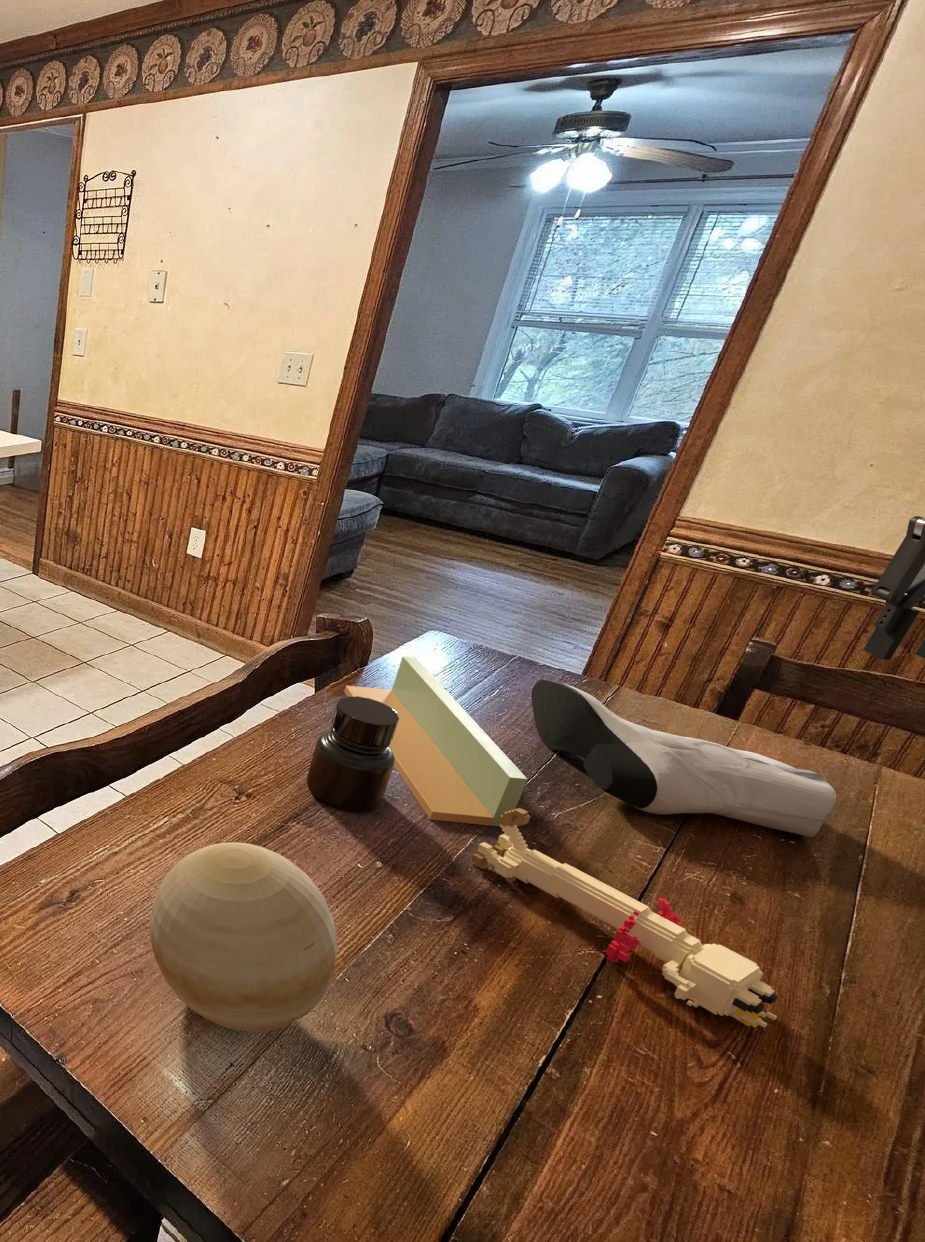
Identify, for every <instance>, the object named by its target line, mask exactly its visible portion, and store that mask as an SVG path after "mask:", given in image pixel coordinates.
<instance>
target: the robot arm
mask: <svg viewBox="0 0 925 1242" xmlns="http://www.w3.org/2000/svg"><path fill="white" fill-rule="evenodd" d="M871 594H872V595H874V596H876V597H878V598H879V599H881V600H883V601H885V604H884V606H883V608H882V609H881V611H880V613H879V615H878V616H877V618H876V620H875V621H874V625H873V626H874V628H875V629H874V631H873V632H872V634H871V636H870V637H869V639H868V641H867V642H866V644H865V646H864V647H863V649H862V650H863V651H864V652H867V653H869V654H871V655H873V656H874V657H877V658H879V659H882V660H886V661H890V660H892V657H893V655H894V654H895V653H896V651H897V649H898V648H899V646H900V644H901V643H902V641H903V640H904V638H905V636H906V634H907V633H908V632H909V630H910V628H911V627H912V625H913V623H914V622H915V620H916V618H917V617H918V615H919V614H920V612H921V611H920V610H919V609H916V608H914V607H915V606H916V605H917V604H918V603H919V602H920V601H921V600H922V599H923V598H924V597H925V517H923V516H920V515H916V516H915V515H914V516H913V517H911V518H910V519H909V520H908V524H907V529H906V534H905V536H904V538H903V540H902V541H901V543H900V545H899V547H898V548H897V550H896V551H895V553H894V555H893V556H892V558H891V559H890V561H889V563H888V564H887V566H886V567H885V569H884V571H883V572H882V574H881V575H880V577H879V579H878V580H877V582H876V584H875V585H874V587H873V589H872V590H871ZM914 655H916V656H918V657H920V658H923V659H925V638H923V640H922V642H921V643H920V644H919V646H918V648H917V650H916V651H915V653H914Z"/></svg>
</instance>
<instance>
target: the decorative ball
mask: <svg viewBox="0 0 925 1242" xmlns="http://www.w3.org/2000/svg"><path fill="white" fill-rule="evenodd" d="M149 935H150V942H151V947H152V951H153V955H154V959H155V961H156V963H157V966H158V968H159V971H160V972H161V974H162V976H163V978H164V980H165V981H166V983H167V985H169V987H170V989H171V990H172V991H173V992H174V994H175V995H176V996H177V998H179V999H180V1000H181V1002H182V1003H183V1004H185V1005H186V1006H187V1007H188V1009H190V1010H191V1011H193V1012H195V1014H198V1015H199V1016H201V1017H203V1018H205V1019H206V1020H207V1021H210V1022H211V1023H213V1024H216V1025H218V1026H220V1027H223V1028H225V1029H226V1028H227V1029H230V1030H234V1031H238V1032H248V1033H260V1032H261V1033H262V1032H263V1033H264V1032H269V1031H274V1030H279V1029H281V1028H284V1027H287V1026H289V1025H291V1024H293V1023H296V1022H297V1021H298V1020H300V1019H302V1018H303V1017H304V1016H306V1015H308V1014H309V1013H310V1012H311V1011H312V1010H313V1009H314V1008H315V1007H316V1006H317V1004H318V1003H320V1001H321V999H322V998H323V997H324V996H325V994H326V992H327V990H328V989H329V987H330V985H331V982H332V979H333V977H334V974H335V971H336V964H337V957H338V938H337V931H336V927H335V920H334V917H333V915H332V913H331V910H330V908H329V906H328V904H327V901H326V899H325V897H324V895H323V893H322V892H321V891H320V890H319V888H318V887H317V885H316V884H315V883H314V881H313V880H312V879H311V878H310V876H309V875H308V874H307V873H306V872H304V871H303V870H302V869H301V868H300V867H299V866H297V865H296V863H294V862H293V861H291V860H290V859H289V858H287V857H285V856H283V855H282V854H280V853H277V852H275V851H273V850H270V849H268V848H266V847H263V846H260V845H256V844H252V843H247V842H246V843H245V842H231V841H230V842H220V843H214V844H211V845H207V846H204V847H202V848H200V849H197V850H196V851H193V852H192V853H191V852H190V853H189V854H187V855H185V856H184V857H183V858H181V859H180V860H179V861H178V862H177V863H176V864H175V865H174V866H173V867H172V868H171V869H170V870H169V872H167V873H166V874H165V876H164V878H163V879H162V882H161V884H160V885H159V887H158V889H157V891H156V893H155V895H154V899H153V903H152V907H151V911H150V917H149Z"/></svg>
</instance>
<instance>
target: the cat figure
mask: <svg viewBox="0 0 925 1242" xmlns="http://www.w3.org/2000/svg"><path fill="white" fill-rule="evenodd" d="M530 818H531V815H529V811H527V810H526V809H524V808H521V807H518V808H515V809H514V810H510V811H507V812H504V814H503V815H501V816H500V817H499V820H498V823H499V824H500V826H499V828H501V831H502V832H503V833H502V834H500V835H499V836H498V839H497V842H496V844H495V845H491V844H489V843H487V842H485V841H483V842H481V843H478V847H477V850H476V852H475V853H473V854H472V857H471V860H470V861H471V863H473V866H475V867H477V868H479V869H480V870H483V869H485V868H487V866H488V864H490V865H492V866H494V868H493V869H494V870H495V872H496V873H497V875H500V876H502V877H504V878H505V879H513V878H516V879H518V880H519V881H521V882H523V883H525V884H531V885H533V886H535V887H536V888H538V889H540V890H542V891H544V892H545V893H547V894H549V895H551V896H552V897H554V898H556V899H560V898H561V899H563V900H565V901H567V902H568V903H570V904H572V905H573V906H575V907H577V908H579V909H581V910H582V911H584V912H586V913H587V914H590V915H592V916H593V917H595V918H597V919H598V920H600V921H602V922H604V923H605V924H607V925H609V926H611V927H612V928H615V929H616V932H615V935H614V938H613V940H611V942H610V944H608V946H607V947H606V948H607V949H606V951H605V954H606V960H608V961H610V962H612V963H614V964H617V963H618V962H619V960H620V961H622V962H623V963H627V962H629V961H630V959H631V958H632V957H631V956H632V955H633V952H631V949H633V950H636V949H637V948H638V946H641V947H643V948H644V949H647V950H648V951H650V952H652V954H653V956H654V957H655V958H657V959H658V960H661V961H662V962H663V963H664V964H663V966H662V968H661V971H662V973H661V975H662V976H664V979H665V980H667V981H669V982H670V983H672V984H674V986H676V989H675V991H674V993H673V994H674V998H675V999H676V1000H677V999H678V1000H680V999H681V1000H682V1001H685V1000H688V1001H686V1005H687V1006H689V1007H691V1006H692V1007H694V1008H698V1007H699V1006H700V1007H702V1008H704V1009H705V1010H707V1011H709V1012H710V1013H711V1014H714V1015H715V1016H716V1015H718V1016H721V1017H724V1016H726V1017H729V1016H730V1017H731V1018H733V1019H735V1020H736V1021H738V1022H740V1023H742V1024H744V1025H745V1026H747V1027H753V1028H754V1029H755V1028H757V1027H758V1026H760V1027H762V1028H766V1027H767V1026H768V1022H765V1021H764V1020H763V1018H766V1017H767V1018H770V1019H771V1020H773V1021H775V1020H776V1019H777V1018H778V1016H777V1015H775V1014H773V1013H772V1012H771V1011H769V1010H768V1011H767V1012H765V1011H763V1010H764V1008H765V1007H766V1005H765V1003H766V1004H768V1005H772V1004H774V1003H775V1002H776V1001H777V999H778V997H779V996H778V995H777V994H775V993H776V990H775V989H773V986H770V985H769V984H767V983H765V982H763V981H762V980H761V979H762V977H763V975H764V973H763V971H761V967H760V966H758V963H757V962H754V961H752V960H750V959H749V958H747V957H745V956H744V955H741V954H740V953H737V952H736V951H733V950H732V949H730V948H728V947H726V946H723V945H722V944H720V943H719V944H716V943H712V944H710V943H704V944H703V943H702V942H701V939H699V938H697V937H695V936H693V935H691V934H689V933H688V932H687V930H686V928H684V927H682V926H683V923H682V922H681V917H680V916H679V914H678V913H676V912H674V911H673V909H672V908H671V907H672V906H671V903H670V902H669V900H667V899H666V898H662V897H658V898H657V900H656V901H657V902H658V903H659V905H658V906H659V907H660V908H659V909H660V910H659V911H657V912H656V913H655V912H654V911H652V910H651V908H650V906H648V905H646V904H645V903H643V902H640V901H639V900H637V899H635V898H633V897H631V896H629V895H627V894H626V893H623V892H621V891H620V890H618V889H616V888H614V887H612V886H610V885H608V884H607V883H604V882H602V881H601V880H599V879H597V878H595V877H593V876H591V875H589V874H588V873H585V872H583V871H581V870H580V869H578V868H576V867H575V866H572V865H570V864H568V863H566V862H564V863H561V862H559V861H557V860H555V859H554V858H551V857H550V856H549V855H546V854H544V853H542V852H540V851H539V850H537V849H530V848H528V846H529V845H528V844H527V843H526V842H527V841H526V840H525V839H524V836H522V832H520V829H519V828H518V826H519V827H521V826H525V825H527V824H529V822H530ZM678 972H679V973H678Z"/></svg>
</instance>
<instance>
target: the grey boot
mask: <svg viewBox="0 0 925 1242" xmlns="http://www.w3.org/2000/svg"><path fill="white" fill-rule="evenodd" d="M531 706H532V714H533V718H534V723H535V724H534V725H535V727H536V730H537V733H538V736H539V738H540V739H541V741H542V742H543V744H544V745H545V746H546V747H547V748H549V749H550V750H552V751H557V752H562V753H567V754H572V755H574V756H575V757H577V758H578V759H581V760H582V761H583V764H582V767H584V770H585V771H586V773H587V775H588V776H589V777H590V778H591V779H592V780H593V783H594V784H595V786H596V787H598V788H600V789H601V790H602V791H603V792H605V793H607V794H609V795H611V796H613V797H615V798H616V799H619V800H620V801H622V802H624V803H626V804H628V805H630V806H631V807H634V808H636V809H637V810H639V811H643V812H645V813H650V814H654V815H676V814H714V815H718V816H721V817H726V818H730V819H734V820H738V821H741V822H744V823H748V824H753V825H756V826H762V827H765V828H769V829H772V830H773V829H774V830H778V831H782V832H787V833H791V834H795V835H800V836H804V837H808V838H813V837H815V836H816V835H817V834H818V832H819V831H820V830H821V828H822V827H823V824H824V823H825V821H826V820H827V819H828V818H829V816H830V815H831V813H832V812H833V810H834V808H835V806H836V802H837V794H836V791H835V788H833V787H832V786H831V785H830V783H828V779H827V778H826V777H825V776H823V775H821V774H820V773H817V772H814V771H812V770H809V769H805V768H796V767H793V766H791V765H789V764H787V763H785V762H782V761H779V760H776V759H773V758H771V757H768V756H765V755H763V754H760V753H756V752H754V751H753V752H752V751H748V750H741V749H735V748H732V747H729V746H725V745H722V744H720V743H718V742H717V743H716V742H712V741H709V740H706V739H705V740H704V739H701V738H695V737H691V736H681V735H676V734H671V733H668V732H665V731H659V730H655V729H652V728H648V727H646V726H644V725H641V724H637V723H634V722H631V721H630V720H627V719H624V718H623V717H620V716H618V715H617V714H615V713H614V712H612V711H611V710H610V709H609V708H608V707H607V706H605V705H604V704H603V703H602V702H601V701H600V700H598V699H597V698H596V697H594V696H593V695H591V694H590V693H587V692H586V691H583V690H581V689H579V688H577V687H575V686H572V685H570V684H566V683H562V682H560V681H556V680H550V679H543V678H542V679H539V680H538V681H536V683H535V684H533V686H532V689H531Z"/></svg>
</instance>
